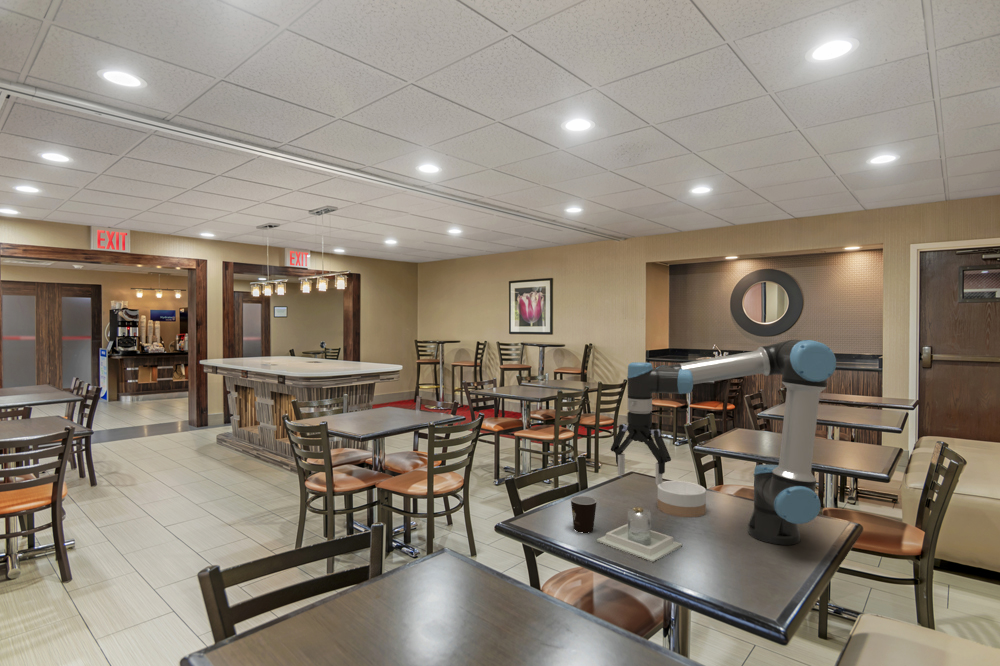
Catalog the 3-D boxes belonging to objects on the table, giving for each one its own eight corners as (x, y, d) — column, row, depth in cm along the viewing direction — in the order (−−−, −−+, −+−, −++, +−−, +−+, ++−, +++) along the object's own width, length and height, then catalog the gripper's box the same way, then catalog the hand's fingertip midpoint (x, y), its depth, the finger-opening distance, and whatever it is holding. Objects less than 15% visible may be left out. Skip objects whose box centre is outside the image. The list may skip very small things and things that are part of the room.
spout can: (655, 541, 163) (655, 506, 163) (642, 547, 158) (642, 511, 158) (636, 535, 168) (635, 500, 168) (623, 541, 163) (623, 505, 163)
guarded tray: (682, 546, 161) (682, 537, 161) (652, 563, 150) (652, 553, 150) (627, 528, 176) (627, 519, 176) (596, 541, 165) (596, 533, 165)
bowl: (654, 500, 205) (654, 479, 204) (699, 502, 202) (699, 481, 202) (661, 516, 188) (661, 493, 187) (711, 519, 185) (711, 495, 185)
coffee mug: (596, 535, 170) (596, 505, 169) (569, 533, 171) (569, 503, 171) (596, 522, 181) (597, 494, 181) (572, 520, 183) (572, 492, 183)
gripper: (600, 408, 169) (599, 473, 170) (669, 418, 151) (669, 490, 151) (613, 406, 174) (613, 468, 175) (682, 415, 156) (682, 485, 156)
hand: (639, 479), depth 163 cm, fingers open, 13 cm apart
